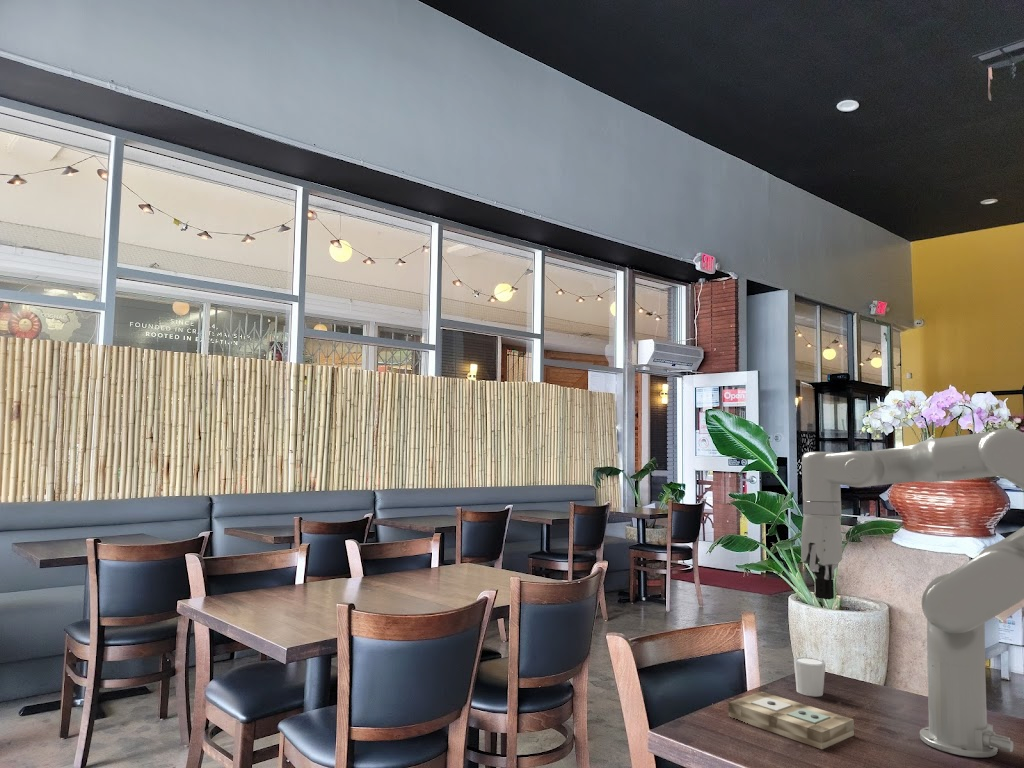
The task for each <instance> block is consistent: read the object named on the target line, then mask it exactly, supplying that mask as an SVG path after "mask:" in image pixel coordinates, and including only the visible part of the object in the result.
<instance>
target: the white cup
mask: <svg viewBox="0 0 1024 768" xmlns="http://www.w3.org/2000/svg"><path fill="white" fill-rule="evenodd" d="M793 667H794V676H795V687H796V688H795V689H796V692H797V693H798V694H800V695H802V696H803V695H804V696H807V697H822V696H823V694H824V686H825V676H826V675H825V673H826V662H825V661H824V660H821V659H818V658H812V657H795V658H794V659H793Z"/></svg>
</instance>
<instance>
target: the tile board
mask: <svg viewBox="0 0 1024 768" xmlns="http://www.w3.org/2000/svg"><path fill="white" fill-rule="evenodd" d="M766 697H767V698H770V699H774V700H777V701H780V702H783V703H787V704H790V705H791V707H790V708H787V709H784V710H781V711H778V712H775V711H772V710H769V709H766V708H763V707H759V706H756V705H753V704H751V702H754V701H757V700H760V699H763V698H766ZM802 708H803V709H806V710H809V711H813V712H816V713H819V714H822V715H826V716H829V719H827V720H825V721H822V722H820V723H817V724H812V723H809V722H806V721H803V720H800V719H797V718H794V717H791V716H788V715H787V714H788V713H791V712H794V711H797V710H799V709H802ZM729 716H730V717H732V718H731V719H733V718H735V719H734V720H736V719H738V720H741V721H743V722H742V723H744V722H745V723H744V724H747V723H748V724H747V725H750V726H754V727H755V728H756V727H757V728H759V729H762V730H765V731H768V732H771V733H774V734H776V735H780V736H782V737H785V738H788V739H791V740H794V741H797V742H800V743H803V744H805V745H809V746H811V747H814V748H818V749H820V750H824V749H826V748H829V747H830V746H834V745H837V744H838V743H840V742H842V741H844V740H847V739H848V738H851V737H853V736H855V729H854V728H855V727H854V726H855V725H854V724H855V720H854V718H850V717H848V716H844V715H841V714H837V713H834V712H831V711H828V710H824V709H821V708H817V707H815V706H811V705H807V704H805V703H801V702H798V701H795V700H791V699H788V698H784V697H781V696H777V695H774V694H771V693H768V692H765V691H759V692H755V693H753V694H750V695H746V696H743V697H739V698H736V699H733V700H731V701H728V717H729ZM730 717H729V718H730ZM738 720H737V721H738ZM741 721H740V722H741Z"/></svg>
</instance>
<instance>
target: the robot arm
mask: <svg viewBox="0 0 1024 768" xmlns="http://www.w3.org/2000/svg"><path fill="white" fill-rule="evenodd" d="M801 474H802V475H801V476H802V477H801V478H802V510H803V511H802V514H803V516H802V517H803V519H802V524H801V525H802V527H801V536H800V537H801V541H800V542H801V546H800V547H801V549H800V558H801V559H800V560H801V562H802V563H803V564H809V568H808V569H809V571H810V572H813V578H814V584H815V586H814V588H815V589H814V590H815V591H814V592H815V598H817V599H822V600H823V599H824V600H833V599H835V590H834V589H835V588H834V579H835V570H836V569H837V568H838V565H839V563H840V562H841V561H842V560H843V539H842V538H843V535H842V528H841V518H842V517H843V516H842V498H841V497H842V495H841V494H842V493H841V486H846V487H851V488H852V487H853V488H864V487H865V488H866V487H875V486H884V485H894V484H902V483H903V484H904V483H906V484H907V483H917V482H921V483H922V482H925V483H940V482H951V481H961V480H970V479H980V478H992V477H1002V478H1004V479H1005V480H1007V481H1008V482H1010V483H1012V485H1013V484H1014V485H1015V486H1017V487H1018V488H1020V489H1022V490H1024V432H1022V431H1020V430H1018V429H1014V428H1008V427H1007V428H1006V427H1003V428H998V429H994V430H993V431H985V432H978V433H970V434H963V435H953V436H946V437H938V438H937V437H936V438H931V439H926V440H923V441H920V442H917V443H914V444H911V445H907V446H900V447H893V448H885V449H884V448H882V449H878V450H877V449H875V450H848V451H842V452H832V451H807V452H805V453H803V455H802V456H801ZM1023 600H1024V526H1022V527H1021V528H1019V529H1018V530H1016V531H1015V532H1012V533H1011V534H1009V535H1008V536H1007V537H1005V538H1002V539H1001V540H1000V541H997V542H996V543H993V544H991V545H989V546H986V547H985V548H984V549H982V550H981V551H980V552H979V553H978V555H976V556H975V557H973V558H972V559H970V560H968V561H967V562H965V563H964V564H963V565H960V566H959V567H957V568H955V569H954V570H952V571H951V572H950V573H944V574H941V575H939V576H936V577H935V578H933V579H932V580H931V581H930V582H929V584H928V585H927V586H926V588H925V590H924V591H923V593H922V597H921V609H922V612H923V615H924V616H925V618H926V651H927V656H926V659H927V661H926V663H927V701H928V705H927V706H928V708H927V709H928V726H926V727H923V728H921V729H920V730H919V739H920V740H921V741H922V742H923V743H925V744H926V745H928V746H929V747H932V748H934V749H936V750H939V751H941V752H945V753H949V754H953V755H957V756H963V757H967V758H968V757H969V758H990V757H994V756H996V755H997V754H998V753H997V752H999V750H998V749H1000V750H1002V751H1005V752H1009V753H1013V751H1014V742H1013V740H1011V738H1010V737H1007V736H1004V735H1000V734H997V733H996V732H995V731H994V727H993V725H994V724H992V723H991V724H990V723H988V719H987V718H988V716H987V715H988V714H987V711H988V710H987V684H986V683H987V681H986V633H985V631H986V629H985V626H986V625H985V623H986V622H988V621H990V620H992V619H993V618H995V617H997V616H998V615H1001V614H1002V613H1004V612H1005V611H1007V610H1009V609H1010V608H1012V607H1014V606H1015V605H1017V604H1019V603H1020V602H1022V601H1023Z"/></svg>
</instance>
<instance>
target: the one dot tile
mask: <svg viewBox="0 0 1024 768" xmlns="http://www.w3.org/2000/svg"><path fill="white" fill-rule="evenodd" d="M751 704H753V705H756V706H759V707H763V708H766V709H769V710H772V711H775V712H778V711H781V710H784V709H787V708H790V707H791V705H790V704H787V703H783V702H780V701H777V700H774V699H770V698H767V697H766V698H763V699H760V700H757V701H754V702H751Z"/></svg>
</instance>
